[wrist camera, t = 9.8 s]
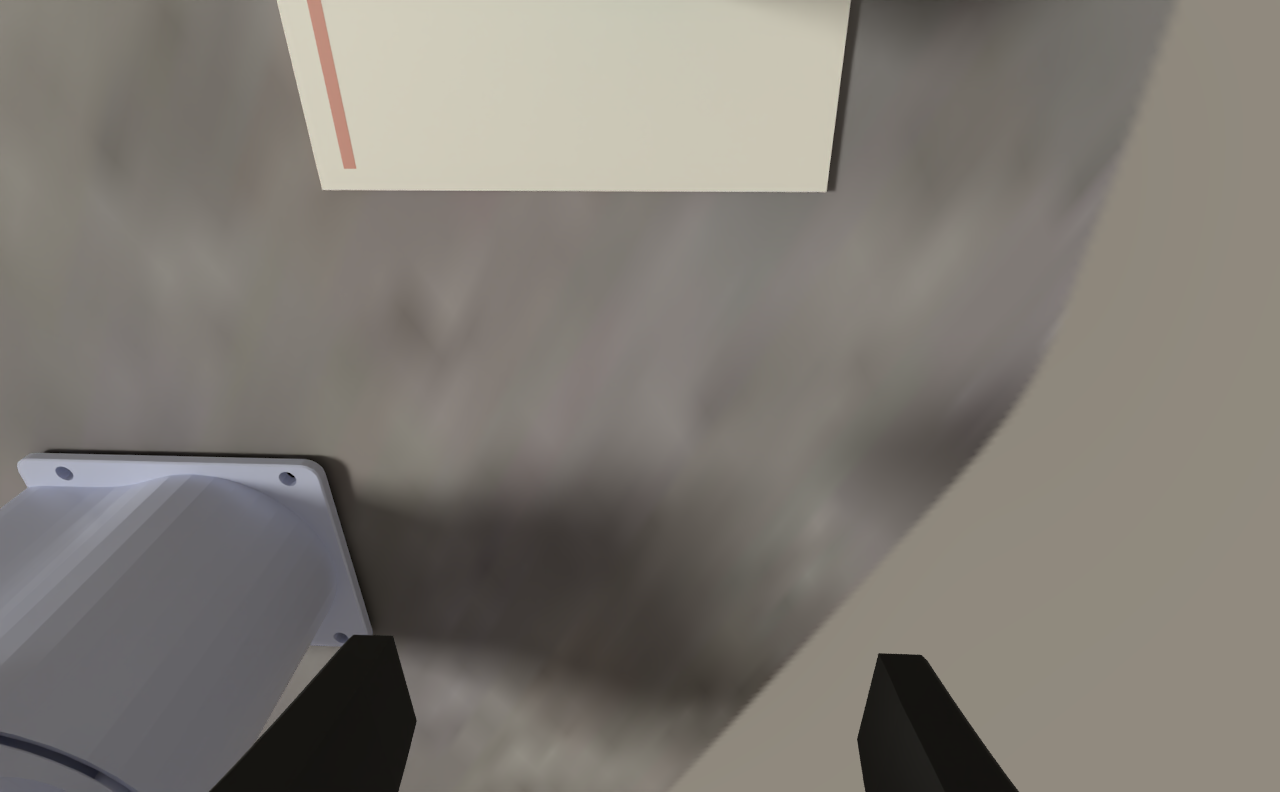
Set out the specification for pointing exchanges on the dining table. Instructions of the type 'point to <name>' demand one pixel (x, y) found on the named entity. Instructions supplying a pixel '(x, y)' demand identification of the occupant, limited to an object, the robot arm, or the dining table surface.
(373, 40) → the paper
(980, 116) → the dining table surface
